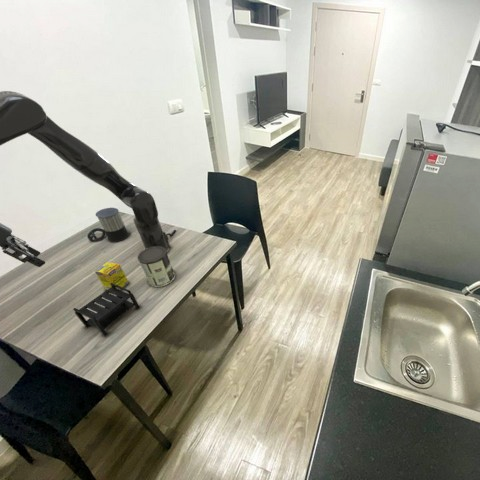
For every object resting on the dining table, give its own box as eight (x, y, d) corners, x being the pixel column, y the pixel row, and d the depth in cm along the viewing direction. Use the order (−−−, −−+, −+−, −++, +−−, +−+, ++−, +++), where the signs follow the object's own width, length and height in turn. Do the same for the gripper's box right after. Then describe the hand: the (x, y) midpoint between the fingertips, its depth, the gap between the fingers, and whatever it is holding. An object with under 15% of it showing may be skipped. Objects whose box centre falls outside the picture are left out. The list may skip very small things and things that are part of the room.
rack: (121, 299, 104) (111, 282, 98) (140, 307, 101) (131, 290, 95) (85, 326, 93) (71, 309, 87) (105, 336, 91) (92, 319, 85)
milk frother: (132, 237, 135) (121, 212, 126) (95, 250, 125) (81, 224, 116) (122, 225, 142) (111, 201, 133) (87, 237, 132) (72, 212, 124)
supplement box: (118, 293, 106) (107, 274, 99) (105, 290, 107) (93, 271, 100) (130, 283, 111) (120, 264, 104) (117, 280, 111) (107, 261, 105)
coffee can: (164, 267, 120) (155, 243, 111) (180, 275, 116) (171, 251, 108) (143, 281, 112) (131, 256, 104) (159, 290, 109) (148, 265, 100)
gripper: (-3, 227, 74) (55, 259, 86) (-7, 213, 81) (47, 244, 94) (-32, 247, 71) (32, 277, 83) (-34, 230, 79) (26, 260, 91)
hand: (40, 259), depth 88 cm, fingers open, 8 cm apart
